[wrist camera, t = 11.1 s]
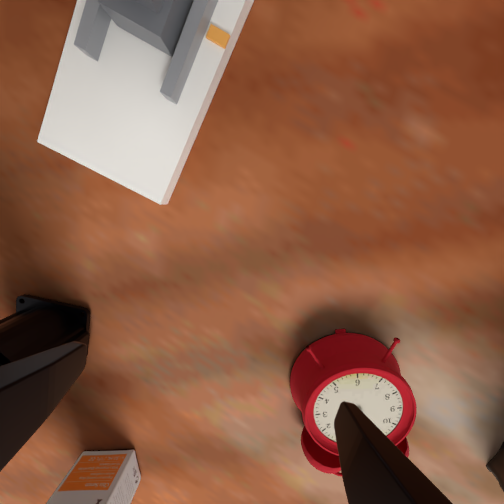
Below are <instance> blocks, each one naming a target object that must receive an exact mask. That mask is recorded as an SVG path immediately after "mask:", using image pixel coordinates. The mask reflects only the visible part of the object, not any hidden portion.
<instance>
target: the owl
mask: <svg viewBox="0 0 504 504" xmlns="http://www.w3.org/2000/svg"><path fill="white" fill-rule="evenodd" d="M486 467H487V469H488V470H489V471H490V472H492V473H493V475H494V476H495V477H496V479H497V480H498V482H499V485H500V486H501V488H502V490H503V492H504V442H503V444H502V446H501V448H500V450H499V452H498V453H497V454H496V456H495V457H494V458H493V459H492V460H491V461H490V462H488V463H487V465H486Z"/></svg>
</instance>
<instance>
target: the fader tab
mask: <svg viewBox="0 0 504 504" xmlns="http://www.w3.org/2000/svg"><path fill="white" fill-rule="evenodd" d="M193 1H194V0H98V3H99V4H100V5H101V6H102V8H103V9H104V10H105V11H106V13H107V14H108V15H109V16H110V18H111V19H112V20H113V21H114V22H115V24H116V25H117V26H118V27H120V28H121V29H123V30H125V31H127V32H129V33H130V34H132V35H134V36H136V37H137V38H139V39H141V40H143V41H145V42H146V43H148V44H150V45H152V46H153V47H155V48H157V49H159V50H161V51H162V52H164V53H166V54H168V55H169V56H171V57H173V54H174V51H175V49H176V46H177V43H178V41H179V38H180V35H181V33H182V30H183V27H184V25H185V22H186V19H187V17H188V14H189V11H190V9H191V6H192V3H193Z"/></svg>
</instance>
